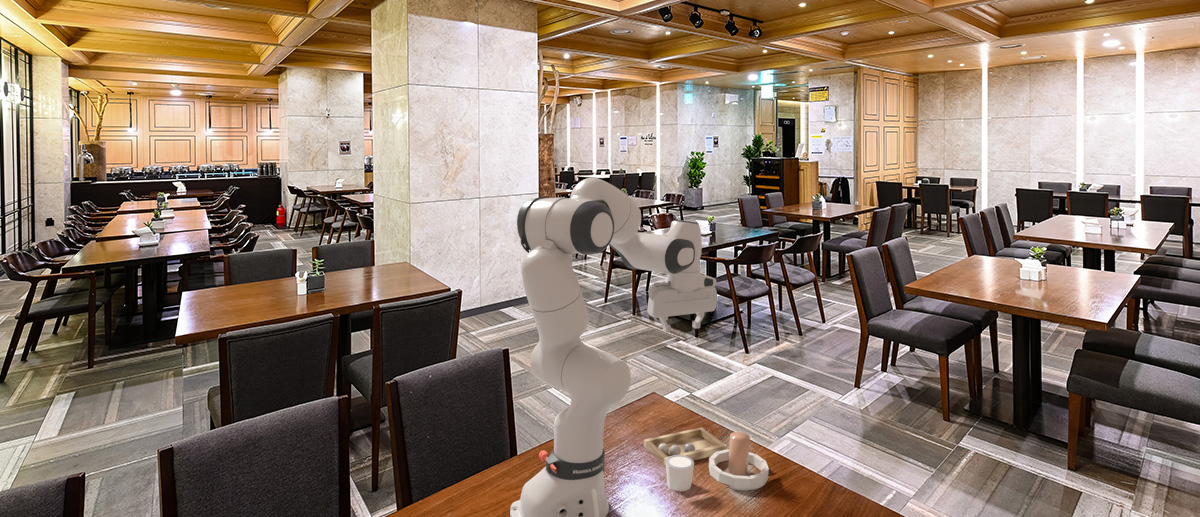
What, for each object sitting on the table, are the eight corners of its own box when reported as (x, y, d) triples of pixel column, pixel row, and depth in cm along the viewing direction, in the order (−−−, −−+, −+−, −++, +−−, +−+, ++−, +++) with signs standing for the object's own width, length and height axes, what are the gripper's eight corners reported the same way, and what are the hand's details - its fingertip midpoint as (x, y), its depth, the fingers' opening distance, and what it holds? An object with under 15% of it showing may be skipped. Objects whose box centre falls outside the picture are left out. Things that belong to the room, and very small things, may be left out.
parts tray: (666, 469, 158) (666, 459, 158) (643, 449, 169) (643, 439, 168) (726, 455, 166) (726, 445, 166) (701, 436, 177) (701, 427, 176)
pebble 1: (661, 458, 163) (661, 447, 162) (655, 452, 165) (655, 442, 165) (671, 455, 164) (671, 445, 163) (665, 450, 167) (665, 440, 166)
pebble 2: (668, 448, 162) (679, 448, 161) (670, 442, 165) (681, 442, 164) (669, 458, 163) (680, 459, 162) (671, 452, 166) (682, 453, 165)
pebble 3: (694, 441, 166) (688, 441, 163) (698, 451, 164) (692, 452, 162) (686, 445, 167) (680, 446, 165) (690, 456, 166) (684, 456, 164)
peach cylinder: (735, 479, 153) (738, 442, 151) (724, 470, 157) (726, 434, 155) (751, 475, 155) (753, 438, 153) (739, 466, 159) (741, 430, 157)
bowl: (732, 495, 147) (732, 483, 146) (698, 467, 160) (698, 456, 159) (779, 482, 153) (780, 470, 152) (742, 456, 166) (743, 445, 165)
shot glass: (692, 497, 146) (693, 470, 145) (663, 493, 147) (664, 466, 146) (693, 482, 153) (694, 456, 151) (666, 478, 154) (667, 453, 153)
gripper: (655, 285, 157) (654, 337, 160) (721, 279, 166) (718, 328, 168) (643, 280, 163) (642, 330, 165) (707, 275, 171) (705, 322, 174)
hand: (681, 329), depth 167 cm, fingers open, 8 cm apart
